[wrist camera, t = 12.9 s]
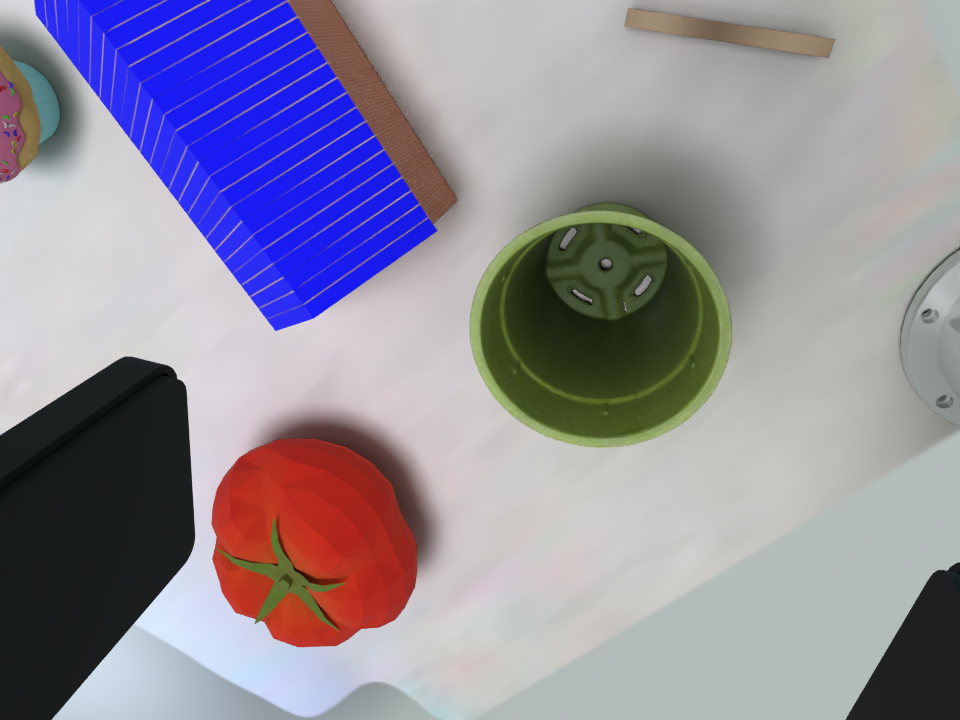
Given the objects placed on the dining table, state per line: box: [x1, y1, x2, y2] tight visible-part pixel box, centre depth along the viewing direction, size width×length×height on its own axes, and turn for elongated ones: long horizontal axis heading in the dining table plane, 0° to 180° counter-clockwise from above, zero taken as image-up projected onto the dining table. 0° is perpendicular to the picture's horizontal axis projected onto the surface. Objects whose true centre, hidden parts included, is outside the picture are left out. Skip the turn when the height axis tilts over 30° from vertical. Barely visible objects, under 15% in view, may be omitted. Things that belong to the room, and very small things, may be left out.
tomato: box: [212, 439, 417, 647], centre depth 50 cm, size 14×16×10 cm
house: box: [34, 0, 457, 331], centre depth 37 cm, size 12×20×12 cm, turn 33°
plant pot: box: [470, 203, 732, 447], centre depth 37 cm, size 12×12×11 cm
